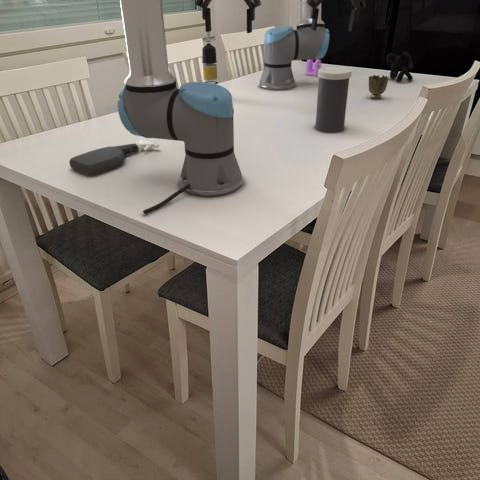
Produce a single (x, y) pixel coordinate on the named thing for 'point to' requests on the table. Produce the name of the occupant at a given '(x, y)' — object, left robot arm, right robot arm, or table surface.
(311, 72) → the bracket
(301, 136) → the table surface
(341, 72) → the lid
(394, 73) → the squiggle
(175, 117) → the left robot arm
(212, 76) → the filter
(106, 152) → the spray bottle
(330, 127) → the jar
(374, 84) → the cup
